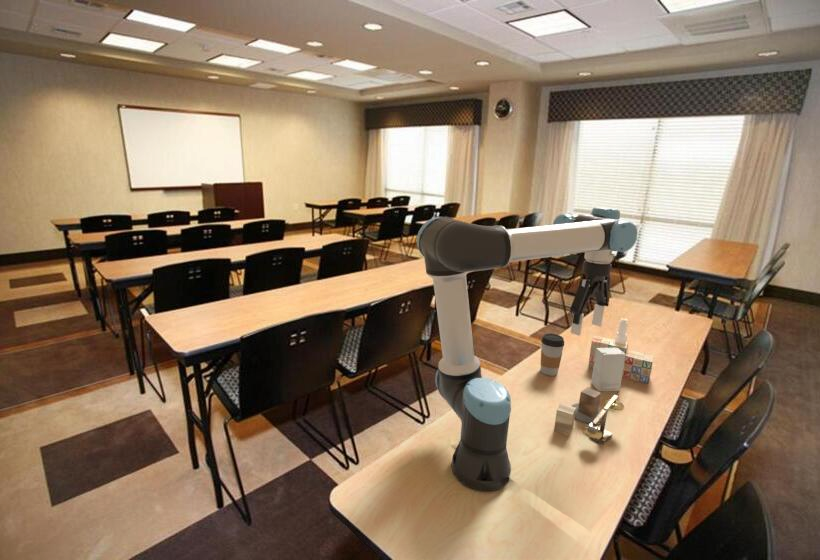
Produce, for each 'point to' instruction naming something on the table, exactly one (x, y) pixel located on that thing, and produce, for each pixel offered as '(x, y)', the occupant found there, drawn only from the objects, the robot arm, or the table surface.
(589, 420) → the plate
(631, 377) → the stack of blocks
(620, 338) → the cosmetic bottle
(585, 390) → the walnut block
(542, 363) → the coffee cup
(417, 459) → the table surface
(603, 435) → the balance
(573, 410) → the maple block
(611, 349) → the skincare box
